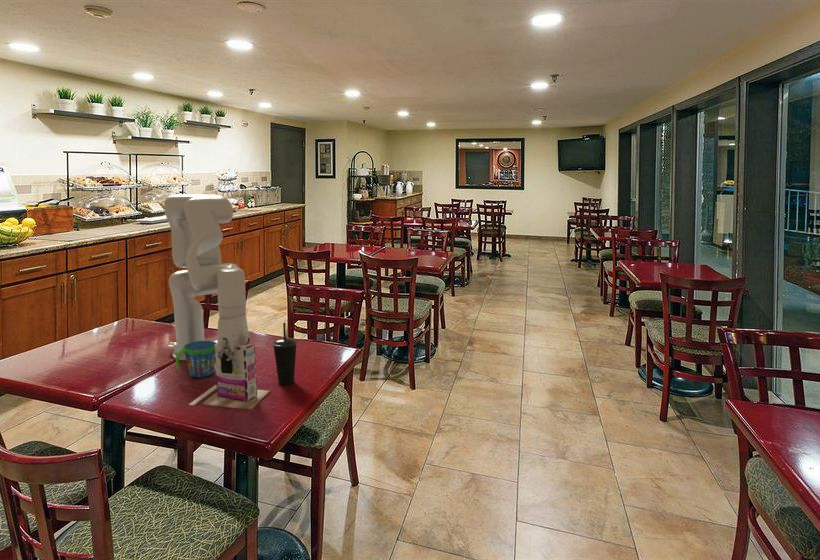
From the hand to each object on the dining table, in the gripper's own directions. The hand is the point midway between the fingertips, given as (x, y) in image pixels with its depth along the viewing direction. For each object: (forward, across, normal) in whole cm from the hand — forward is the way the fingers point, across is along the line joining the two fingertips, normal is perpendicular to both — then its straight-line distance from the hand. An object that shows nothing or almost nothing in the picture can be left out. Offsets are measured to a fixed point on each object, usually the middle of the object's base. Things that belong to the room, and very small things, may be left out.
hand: (235, 366), depth 149 cm
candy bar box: (+10, 0, 0) cm, 10 cm away
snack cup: (+10, -15, -20) cm, 27 cm away
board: (+10, 0, 0) cm, 10 cm away
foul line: (+10, 0, -10) cm, 14 cm away
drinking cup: (+10, -14, +10) cm, 20 cm away
